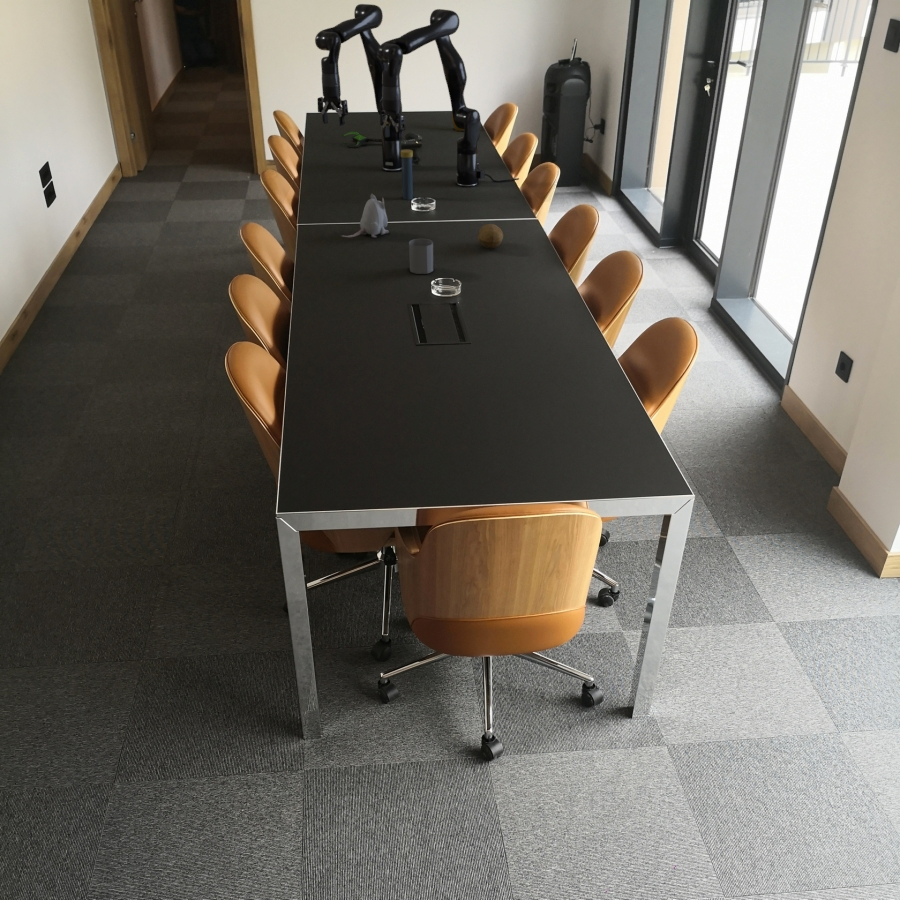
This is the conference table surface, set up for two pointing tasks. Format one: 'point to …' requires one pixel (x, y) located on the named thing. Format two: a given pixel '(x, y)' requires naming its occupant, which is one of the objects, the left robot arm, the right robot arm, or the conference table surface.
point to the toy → (373, 218)
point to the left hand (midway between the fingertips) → (333, 124)
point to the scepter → (360, 139)
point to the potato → (490, 236)
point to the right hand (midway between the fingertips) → (393, 138)
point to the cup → (421, 256)
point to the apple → (456, 126)
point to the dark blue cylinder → (407, 178)
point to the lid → (406, 153)
